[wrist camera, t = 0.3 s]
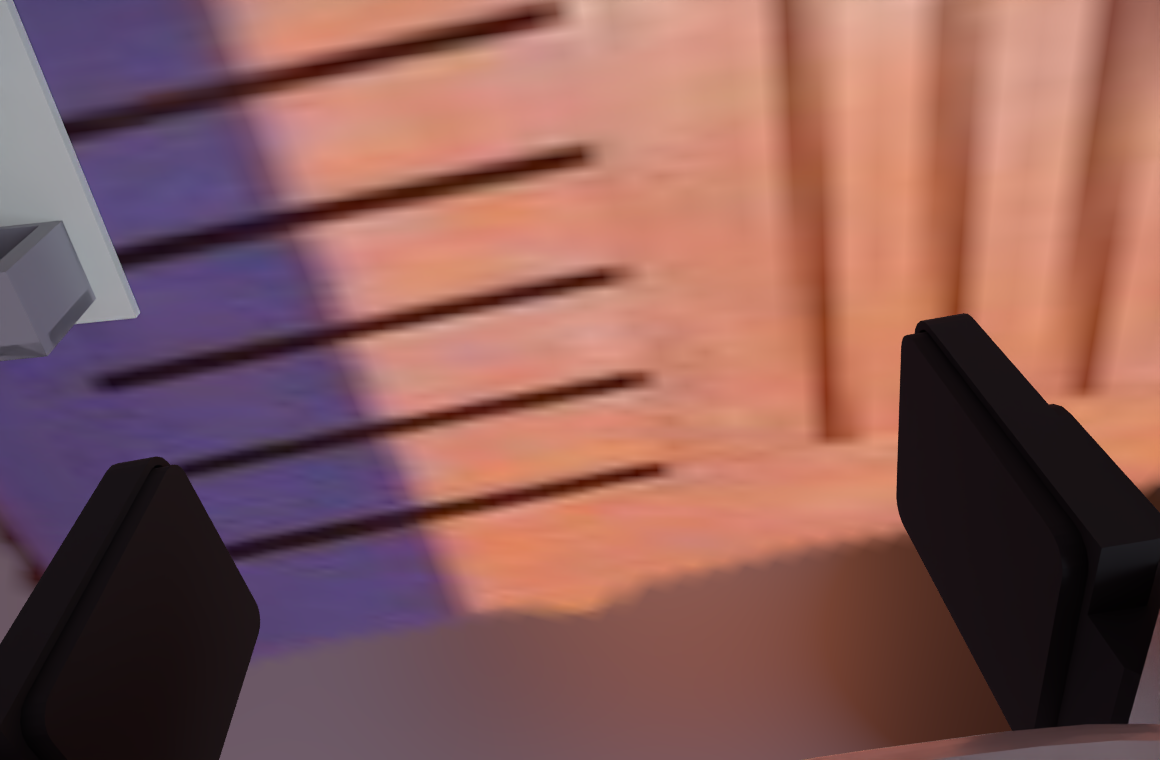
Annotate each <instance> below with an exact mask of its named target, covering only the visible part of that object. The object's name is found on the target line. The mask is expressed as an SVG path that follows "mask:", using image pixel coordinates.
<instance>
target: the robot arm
mask: <svg viewBox="0 0 1160 760" xmlns="http://www.w3.org/2000/svg"><path fill="white" fill-rule="evenodd" d="M896 496H897V506H898V511H899V515H900V518H901V521H902V523H903V525H904V527H905V529H906V531H907V533H908V535H909V536H910V538H911V540H912V542H913V544H914V546H915V548H916V550H917V552H918V553H919V555H920V557H921V559H922V561H923V563H924V565H925V567H926V569H927V570H928V572H929V574H930V576H931V578H932V580H933V582H934V584H935V586H936V587H937V589H938V591H939V593H940V595H941V597H942V599H943V601H944V603H945V604H946V606H947V608H948V610H949V612H950V613H951V616H952V618H953V620H954V621H955V623H956V625H957V627H958V629H959V631H960V633H961V635H962V636H963V638H964V640H965V642H966V644H967V646H968V648H969V650H970V652H971V654H972V655H973V657H974V659H975V661H976V663H977V665H978V667H979V669H980V670H981V672H982V674H983V676H984V678H985V680H986V682H987V684H988V686H989V687H990V689H991V691H992V693H993V695H994V697H995V699H996V701H997V702H998V705H999V706H1000V708H1001V710H1002V712H1003V714H1004V716H1005V717H1006V720H1007V721H1008V723H1009V725H1010V727H1011V729H1012V731H1007V732H1000V733H992V734H985V735H977V736H970V737H962V738H955V739H947V740H940V741H932V742H924V743H917V744H909V745H902V746H894V747H887V748H879V749H872V750H864V751H857V752H851V753H844V754H837V755H830V756H824V757H817V758H810V759H804V760H1160V513H1159V512H1158V510H1157V509H1156V508H1155V507H1154V506H1153V505H1152V504H1151V503H1150V501H1149V500H1148V499H1147V498H1146V497H1145V496H1144V495H1143V494H1142V492H1141V491H1140V490H1139V489H1138V488H1137V487H1136V486H1135V485H1134V484H1133V482H1132V481H1131V480H1130V479H1129V478H1128V477H1127V476H1126V475H1125V474H1124V472H1123V471H1122V470H1121V469H1120V468H1119V467H1118V466H1117V465H1116V464H1115V462H1114V461H1113V460H1112V459H1111V458H1110V457H1109V456H1108V455H1107V454H1106V452H1105V451H1104V450H1103V449H1102V448H1101V447H1100V446H1099V445H1098V444H1097V442H1096V441H1095V440H1094V439H1093V438H1092V437H1091V436H1090V435H1089V434H1088V432H1087V431H1086V430H1085V429H1084V428H1083V427H1082V426H1081V425H1080V423H1079V422H1078V421H1077V420H1076V419H1075V418H1074V417H1073V416H1072V415H1071V414H1070V413H1069V412H1068V411H1067V410H1066V409H1064V408H1063V407H1062V406H1059V405H1055V404H1050V405H1049V404H1048V403H1047V402H1046V401H1045V400H1044V399H1043V398H1042V396H1041V395H1040V394H1039V393H1038V392H1037V391H1036V390H1035V389H1034V387H1033V386H1032V385H1031V384H1030V383H1029V382H1028V381H1027V379H1026V378H1025V377H1024V376H1023V375H1022V374H1021V373H1020V371H1019V370H1018V369H1017V368H1016V367H1015V366H1014V365H1013V363H1012V362H1011V361H1010V360H1009V359H1008V358H1007V357H1006V355H1005V354H1004V353H1003V352H1002V351H1001V350H1000V349H999V347H998V346H997V345H996V344H995V343H994V342H993V341H992V339H991V338H990V337H989V336H988V335H987V334H986V333H985V331H984V330H983V329H982V328H981V327H980V326H979V325H978V323H977V322H976V321H975V320H974V319H973V318H972V317H971V316H970V315H969V314H964V313H963V314H957V315H952V316H946V317H941V318H935V319H929V320H924V321H920V322H919V323H918V324H917V326H916V329H915V334H911V335H906V336H904V337H903V340H902V346H901V371H900V402H899V432H898V462H897V493H896ZM259 629H260V614H259V609H258V606H257V604H256V602H255V600H254V598H253V596H252V594H251V592H250V591H249V589H248V587H247V585H246V583H245V581H244V580H243V578H242V576H241V574H240V572H239V570H238V569H237V567H236V565H235V563H234V561H233V560H232V558H231V556H230V554H229V552H228V550H227V549H226V547H225V545H224V543H223V541H222V539H221V538H220V536H219V534H218V532H217V530H216V528H215V527H214V525H213V523H212V521H211V519H210V518H209V516H208V514H207V512H206V510H205V508H204V507H203V505H202V503H201V501H200V499H199V497H198V496H197V494H196V492H195V490H194V488H193V486H192V485H191V483H190V481H189V479H188V477H187V476H186V474H185V472H184V471H183V469H182V468H181V467H179V466H178V465H170V464H169V463H168V462H167V461H166V460H165V459H163V458H162V457H151V458H146V459H140V460H134V461H129V462H123V463H117V464H115V465H112V466H111V467H110V468H109V469H108V470H107V472H106V473H105V475H104V476H103V478H102V480H101V481H100V483H99V485H98V486H97V488H96V489H95V491H94V493H93V494H92V496H91V498H90V499H89V501H88V502H87V504H86V506H85V507H84V509H83V511H82V512H81V514H80V515H79V517H78V519H77V520H76V522H75V524H74V525H73V527H72V528H71V530H70V532H69V533H68V535H67V537H66V538H65V540H64V541H63V543H62V545H61V546H60V548H59V550H58V551H57V553H56V554H55V556H54V558H53V559H52V561H51V563H50V564H49V566H48V567H47V569H46V571H45V572H44V574H43V576H42V577H41V579H40V580H39V582H38V584H37V585H36V587H35V589H34V590H33V592H32V593H31V595H30V597H29V598H28V600H27V602H26V603H25V605H24V607H23V608H22V610H21V611H20V613H19V615H18V616H17V618H16V619H15V621H14V623H13V624H12V626H11V628H10V629H9V631H8V633H7V634H6V636H5V637H4V639H3V641H2V642H1V644H0V760H219V758H220V755H221V751H222V748H223V745H224V742H225V738H226V735H227V732H228V729H229V726H230V723H231V720H232V716H233V713H234V710H235V707H236V704H237V700H238V697H239V694H240V691H241V688H242V685H243V681H244V678H245V675H246V672H247V669H248V665H249V662H250V659H251V656H252V653H253V649H254V646H255V643H256V640H257V637H258V633H259Z"/></svg>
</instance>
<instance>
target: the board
mask: <svg viewBox="0 0 1160 760" xmlns="http://www.w3.org/2000/svg"><path fill="white" fill-rule="evenodd" d="M52 221H63V223H64V226H65V228H66V230H67V233H68V235H69V237H70V240H71V242H72V244H73V246H74V249H75V251H76V253H77V256H78V258H79V260H80V262H81V265H82V267H83V269H84V272H85V274H86V276H87V279H88V281H89V283H90V285H91V288H92V290H93V292H94V295H95V297H96V300H95V301H94V302H93V303H92V304H91V305H90V307H89V308H88V309H87V310H86V311H85V313H84V314H83V315H82V316H81V317H80V318H79V320H78V321H77V322H76V323H75V324H81V323H91V322H100V321H110V320H120V319H130V318H137V316H138V315H139V314H140V311H139V308H138V306H137V303H136V301H135V298H134V296H133V294H132V291H131V289H130V286H129V284H128V281H127V279H126V276H125V274H124V272H123V269H122V267H121V264H120V262H119V259H118V257H117V254H116V252H115V249H114V247H113V245H112V242H111V240H110V237H109V235H108V232H107V230H106V227H105V225H104V223H103V220H102V218H101V215H100V213H99V210H98V208H97V205H96V203H95V200H94V198H93V196H92V193H91V191H90V188H89V186H88V183H87V181H86V178H85V176H84V174H83V171H82V169H81V166H80V164H79V161H78V159H77V156H76V154H75V151H74V149H73V147H72V144H71V142H70V139H69V137H68V134H67V132H66V129H65V127H64V125H63V122H62V120H61V117H60V115H59V112H58V110H57V107H56V105H55V102H54V100H53V98H52V95H51V93H50V90H49V88H48V85H47V83H46V80H45V78H44V76H43V73H42V71H41V68H40V66H39V63H38V61H37V58H36V56H35V53H34V51H33V49H32V46H31V44H30V41H29V39H28V36H27V34H26V31H25V29H24V27H23V24H22V22H21V19H20V17H19V14H18V12H17V9H16V7H15V4H14V2H13V0H0V227H2V226H12V225H22V224H32V223H42V222H52Z"/></svg>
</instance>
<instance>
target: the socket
mask: <svg viewBox="0 0 1160 760" xmlns="http://www.w3.org/2000/svg"><path fill="white" fill-rule="evenodd" d="M95 300H96V297H95V295H94V292H93V290H92V288H91V285H90V283H89V281H88V279H87V276H86V274H85V272H84V269H83V267H82V265H81V262H80V260H79V258H78V256H77V253H76V251H75V249H74V246H73V244H72V242H71V240H70V237H69V235H68V233H67V230H66V228H65V226H64V223H63V221H52V222H42V223H32V224H22V225H12V226H2V227H0V361H5V360H14V359H24V358H34V357H44V356H48V355H49V354H50V352H51V351H52V350H53V349H54V348H55V347H56V345H57V344H58V343H59V342H60V341H61V339H62V338H63V337H64V336H65V335H66V334H67V332H68V331H69V330H70V329H71V328H72V327H73V325H74V324H75V323H76V322H77V321H78V320H79V318H80V317H81V316H82V315H83V314H84V313H85V311H86V310H87V309H88V308H89V307H90V305H91V304H92V303H93V302H94V301H95Z"/></svg>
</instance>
